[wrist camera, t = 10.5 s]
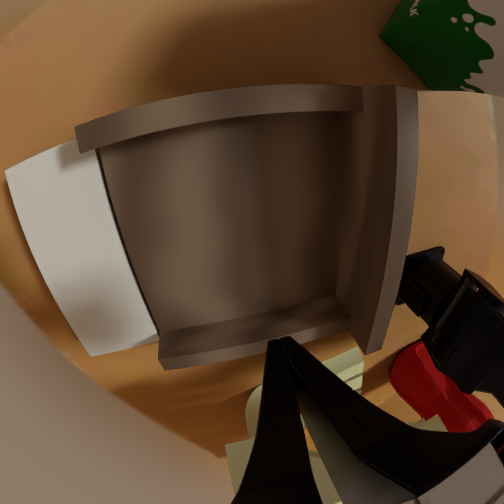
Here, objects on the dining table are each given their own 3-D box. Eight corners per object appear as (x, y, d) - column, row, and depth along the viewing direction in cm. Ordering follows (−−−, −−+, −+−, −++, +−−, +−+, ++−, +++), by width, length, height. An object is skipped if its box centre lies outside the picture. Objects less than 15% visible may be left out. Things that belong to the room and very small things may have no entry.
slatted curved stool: (211, 353, 26) (241, 526, 11) (356, 299, 27) (453, 439, 11) (274, 439, 41) (298, 519, 26) (354, 409, 42) (390, 484, 27)
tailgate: (91, 132, 13) (4, 170, 11) (160, 340, 21) (91, 357, 20) (96, 132, 14) (13, 166, 12) (158, 328, 23) (92, 345, 21)
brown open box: (341, 90, 16) (417, 89, 10) (339, 291, 25) (380, 349, 18) (104, 122, 15) (46, 132, 8) (166, 327, 23) (164, 401, 17)
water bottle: (386, 352, 34) (468, 487, 12) (438, 328, 35) (519, 437, 13) (373, 385, 38) (435, 501, 17) (421, 362, 39) (485, 460, 18)
